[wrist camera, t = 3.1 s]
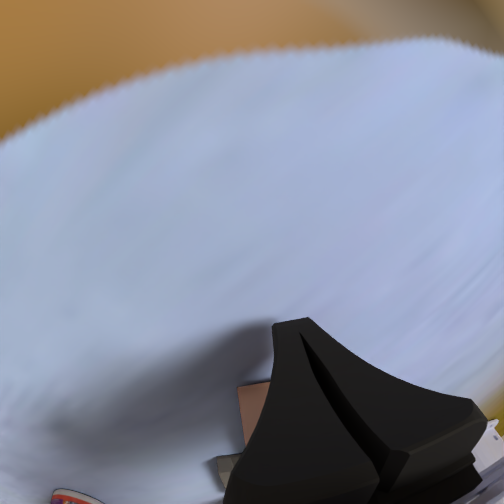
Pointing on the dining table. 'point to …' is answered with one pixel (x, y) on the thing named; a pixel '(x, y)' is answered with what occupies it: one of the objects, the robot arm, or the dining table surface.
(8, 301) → the dining table surface
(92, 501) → the pill bottle
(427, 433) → the robot arm
